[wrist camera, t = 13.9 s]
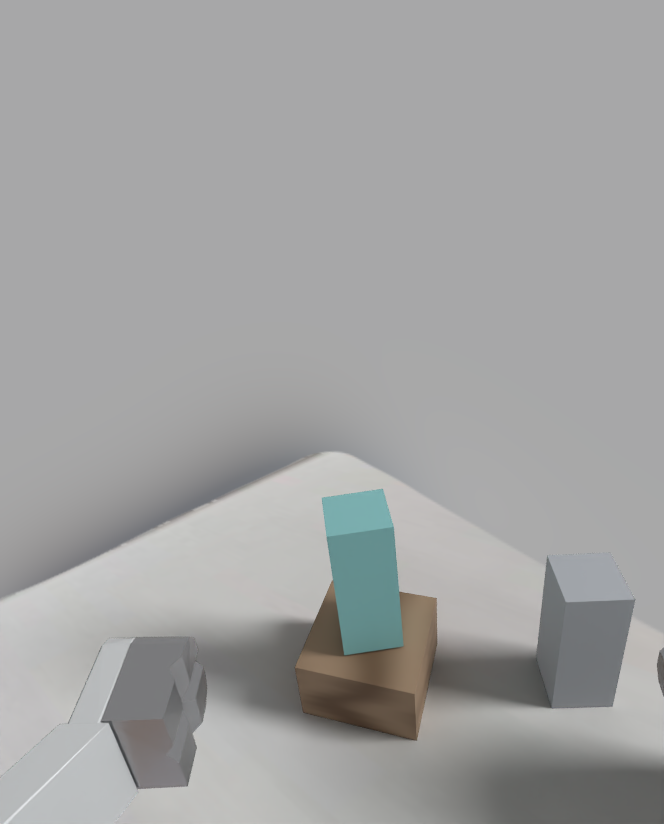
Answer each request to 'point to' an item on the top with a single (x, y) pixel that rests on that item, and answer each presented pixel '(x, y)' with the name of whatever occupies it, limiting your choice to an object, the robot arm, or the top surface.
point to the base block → (370, 671)
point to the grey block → (583, 629)
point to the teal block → (364, 570)
